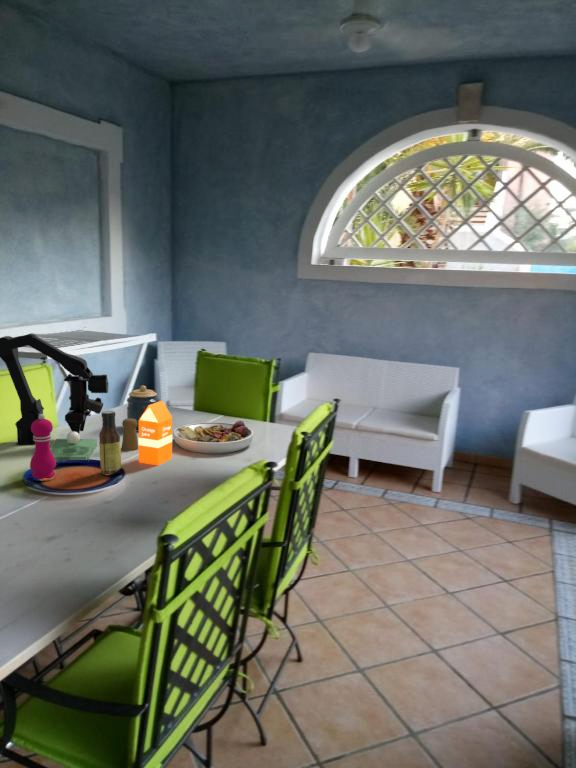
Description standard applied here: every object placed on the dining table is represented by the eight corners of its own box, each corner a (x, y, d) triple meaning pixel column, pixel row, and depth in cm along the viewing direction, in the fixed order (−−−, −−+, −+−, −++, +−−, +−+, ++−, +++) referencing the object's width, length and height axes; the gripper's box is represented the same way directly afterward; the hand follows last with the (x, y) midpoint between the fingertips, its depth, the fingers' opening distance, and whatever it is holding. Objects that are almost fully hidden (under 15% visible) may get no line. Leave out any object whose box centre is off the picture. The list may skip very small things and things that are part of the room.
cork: (133, 451, 203) (133, 421, 201) (118, 450, 204) (117, 420, 202) (141, 447, 209) (141, 417, 207) (126, 445, 210) (126, 416, 208)
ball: (65, 445, 198) (64, 433, 197) (68, 442, 202) (67, 429, 202) (78, 445, 199) (78, 433, 198) (81, 442, 203) (81, 429, 202)
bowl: (201, 461, 196) (201, 439, 195) (158, 441, 218) (158, 421, 217) (268, 447, 216) (269, 427, 214) (223, 430, 238) (223, 412, 237)
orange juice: (138, 462, 192) (138, 404, 188) (153, 455, 200) (153, 399, 196) (158, 465, 189) (158, 406, 186) (172, 458, 197) (172, 401, 194)
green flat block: (56, 445, 206) (56, 439, 205) (97, 445, 208) (97, 439, 208) (41, 464, 185) (41, 456, 185) (86, 464, 188) (86, 456, 187)
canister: (134, 422, 243) (134, 381, 240) (163, 424, 241) (163, 383, 238) (121, 430, 230) (121, 387, 227) (152, 432, 229) (152, 389, 226)
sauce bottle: (125, 471, 182) (124, 411, 178) (113, 477, 176) (112, 415, 172) (107, 468, 184) (107, 408, 180) (95, 474, 178) (94, 412, 174)
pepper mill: (31, 483, 168) (28, 417, 165) (29, 476, 174) (27, 412, 171) (57, 480, 171) (55, 415, 168) (55, 473, 178) (53, 410, 174)
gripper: (97, 398, 201) (98, 441, 203) (105, 388, 219) (105, 427, 221) (64, 398, 199) (65, 441, 201) (74, 388, 217) (75, 427, 219)
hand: (79, 434), depth 211 cm, fingers open, 9 cm apart
